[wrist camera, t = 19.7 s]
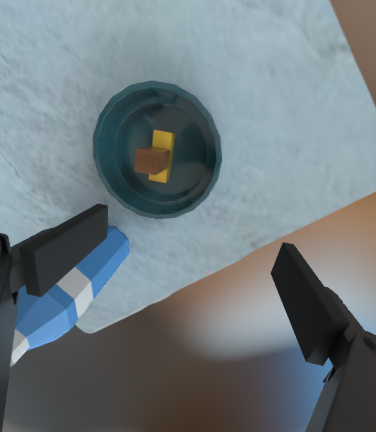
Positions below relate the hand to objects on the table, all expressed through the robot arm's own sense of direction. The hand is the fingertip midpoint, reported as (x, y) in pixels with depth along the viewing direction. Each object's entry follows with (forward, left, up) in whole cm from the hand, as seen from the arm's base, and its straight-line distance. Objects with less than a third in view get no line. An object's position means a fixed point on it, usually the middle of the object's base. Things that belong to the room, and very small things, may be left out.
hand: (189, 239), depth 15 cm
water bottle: (+18, -18, -24) cm, 35 cm away
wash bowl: (-3, -8, -24) cm, 25 cm away
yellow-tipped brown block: (-3, -8, -23) cm, 24 cm away
